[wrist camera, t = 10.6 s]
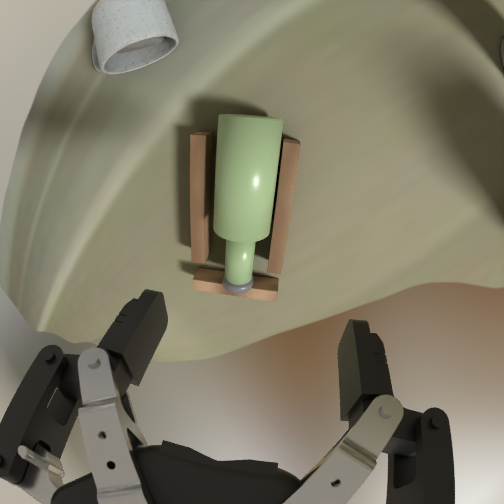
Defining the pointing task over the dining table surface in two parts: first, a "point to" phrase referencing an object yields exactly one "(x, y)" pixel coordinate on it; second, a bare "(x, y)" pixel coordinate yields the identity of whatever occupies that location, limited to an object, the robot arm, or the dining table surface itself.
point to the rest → (201, 217)
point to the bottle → (244, 190)
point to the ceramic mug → (131, 34)
